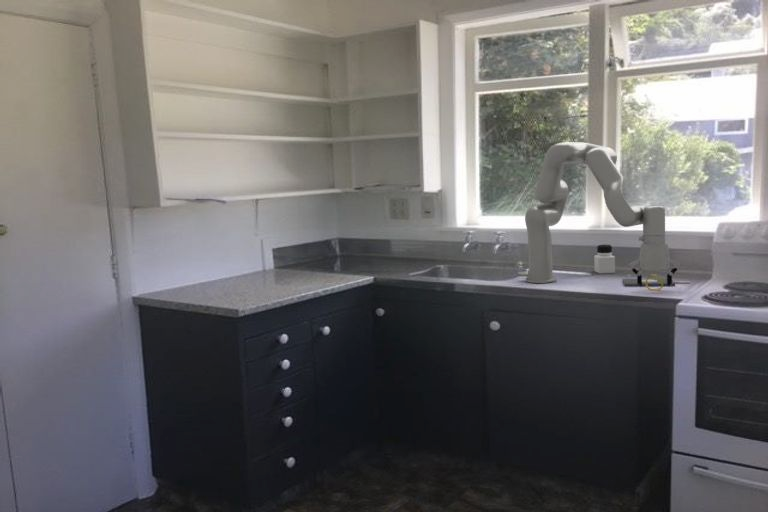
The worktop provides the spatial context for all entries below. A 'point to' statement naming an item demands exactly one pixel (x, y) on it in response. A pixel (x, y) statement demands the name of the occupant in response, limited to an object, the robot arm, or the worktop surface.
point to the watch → (654, 276)
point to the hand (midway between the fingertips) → (654, 285)
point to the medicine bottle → (604, 260)
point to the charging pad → (651, 282)
